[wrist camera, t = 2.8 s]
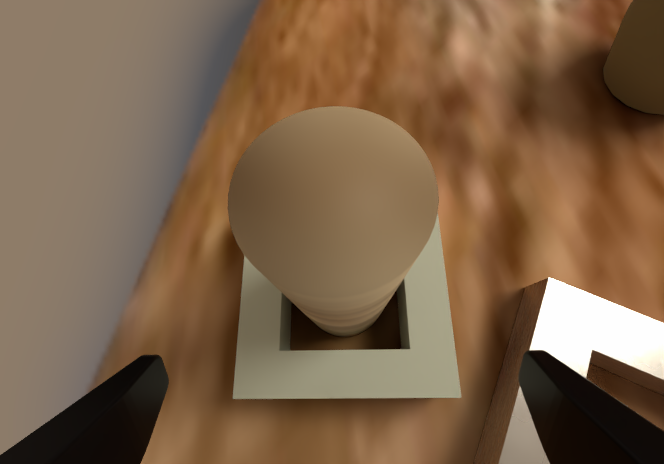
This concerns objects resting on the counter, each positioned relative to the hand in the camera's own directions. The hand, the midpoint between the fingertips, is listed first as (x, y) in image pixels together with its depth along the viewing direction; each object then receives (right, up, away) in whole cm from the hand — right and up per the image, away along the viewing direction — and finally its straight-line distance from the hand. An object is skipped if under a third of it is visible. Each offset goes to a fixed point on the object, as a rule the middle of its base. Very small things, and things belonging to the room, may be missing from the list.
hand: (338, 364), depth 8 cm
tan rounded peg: (+1, 0, +11) cm, 11 cm away
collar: (+1, 0, +11) cm, 11 cm away
